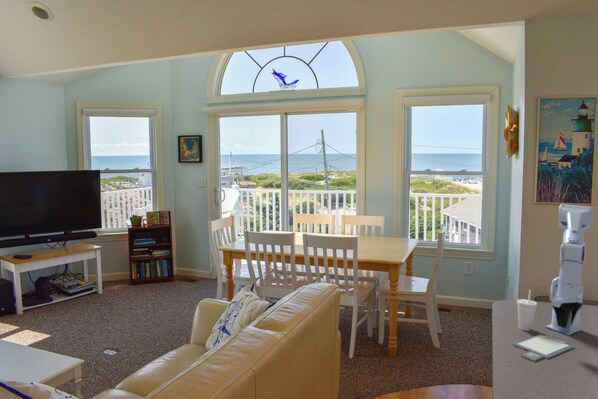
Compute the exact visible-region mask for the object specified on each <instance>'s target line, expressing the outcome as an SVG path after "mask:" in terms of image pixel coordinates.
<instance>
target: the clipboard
mask: <svg viewBox="0 0 598 399" xmlns="http://www.w3.org/2000/svg"><path fill="white" fill-rule="evenodd" d="M514 345H515V347H516V346H518V347H517V348H519V347H520V348H519V349H521V348H523V349H522V350H524V349H526V350H528V351H527V352H529V351H531V352H534V353H536V354H539V355H541V356H543V359H546V360H548V359H550V358H553V357H555V356H558V355H560V354H562V353H565V352H567V351H569V350H573V349H574V348H575V346H573V345H570V344H568V343H567V342H566V341H563V340H560V339H559V338H558V339H557V338H555V337H552V336H550V335H543V334H537V335H534V336H531V337H528V338H525V339H523V340H521V341H517V342H514V343H512V346H514ZM526 350H525V351H526Z"/></svg>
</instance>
